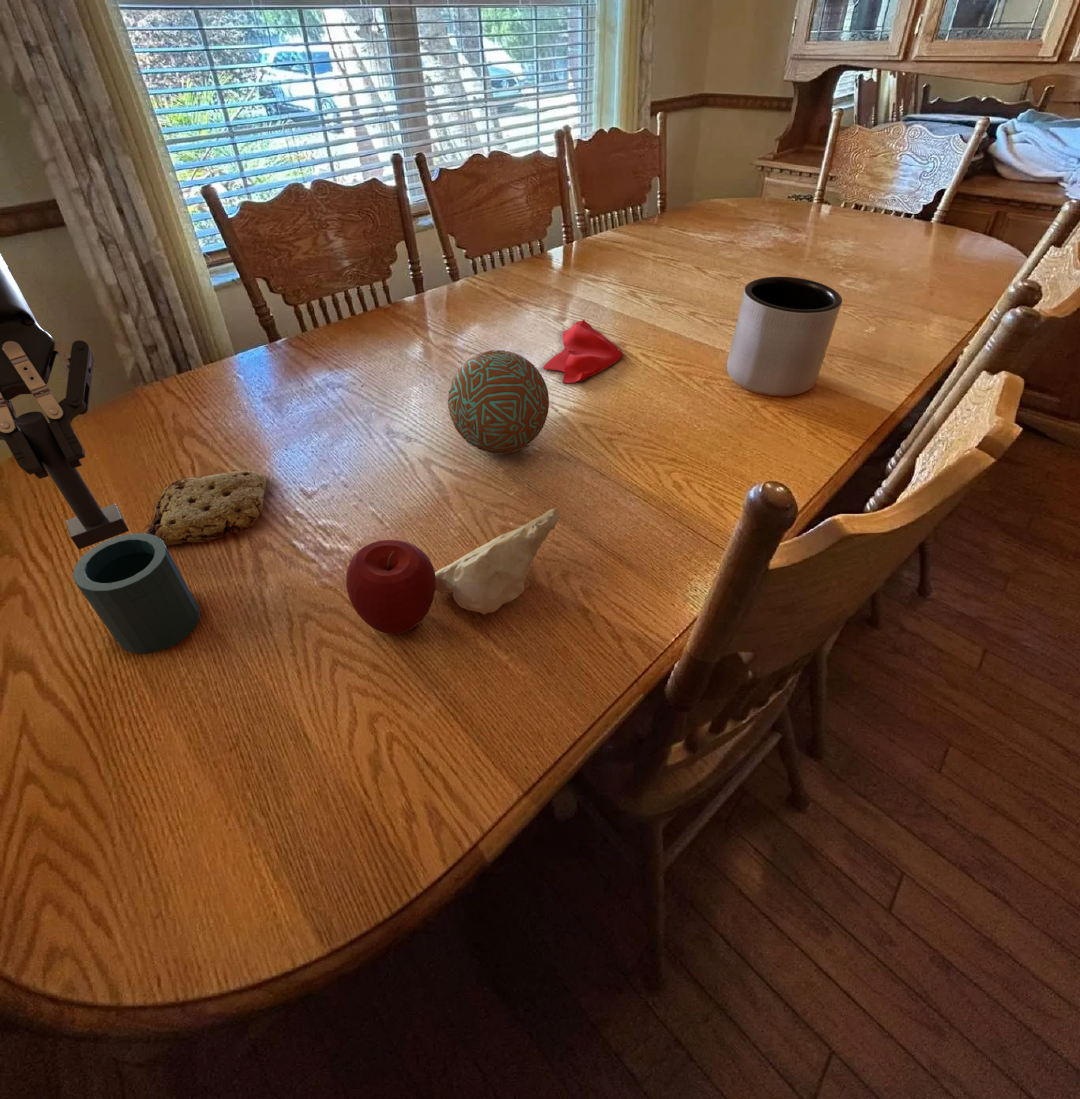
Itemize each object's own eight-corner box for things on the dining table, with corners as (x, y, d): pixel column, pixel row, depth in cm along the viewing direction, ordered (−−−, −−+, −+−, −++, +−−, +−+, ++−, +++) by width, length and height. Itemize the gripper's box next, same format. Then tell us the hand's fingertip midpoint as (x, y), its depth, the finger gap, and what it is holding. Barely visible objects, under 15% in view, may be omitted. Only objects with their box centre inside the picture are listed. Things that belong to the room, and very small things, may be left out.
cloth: (608, 389, 112) (609, 378, 111) (534, 378, 115) (534, 367, 113) (633, 330, 130) (634, 319, 129) (569, 322, 133) (569, 311, 132)
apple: (406, 664, 68) (392, 601, 61) (339, 630, 71) (318, 567, 65) (457, 606, 74) (449, 544, 67) (392, 578, 77) (379, 515, 71)
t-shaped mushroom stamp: (78, 550, 59) (0, 434, 51) (72, 533, 61) (-5, 418, 52) (129, 531, 61) (62, 416, 53) (122, 515, 63) (55, 401, 54)
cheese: (437, 649, 72) (539, 606, 64) (403, 595, 71) (502, 544, 63) (497, 592, 85) (587, 551, 77) (468, 546, 84) (557, 499, 76)
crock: (127, 666, 67) (81, 604, 61) (109, 618, 72) (65, 555, 66) (210, 628, 71) (175, 565, 65) (187, 585, 76) (153, 522, 69)
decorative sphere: (566, 438, 100) (570, 349, 90) (510, 485, 91) (507, 392, 81) (491, 410, 107) (487, 324, 96) (432, 452, 97) (420, 361, 87)
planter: (807, 361, 121) (833, 278, 110) (822, 403, 109) (853, 315, 98) (722, 355, 122) (739, 272, 112) (727, 396, 111) (748, 308, 100)
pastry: (303, 500, 88) (297, 483, 86) (194, 572, 78) (185, 555, 76) (224, 460, 95) (218, 443, 93) (114, 522, 85) (104, 505, 83)
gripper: (-176, 276, 46) (-56, 491, 48) (40, 240, 52) (140, 430, 54) (-125, 322, 53) (-21, 509, 54) (61, 285, 59) (150, 453, 61)
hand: (59, 469), depth 54 cm, fingers closed on t-shaped mushroom stamp, 2 cm apart
